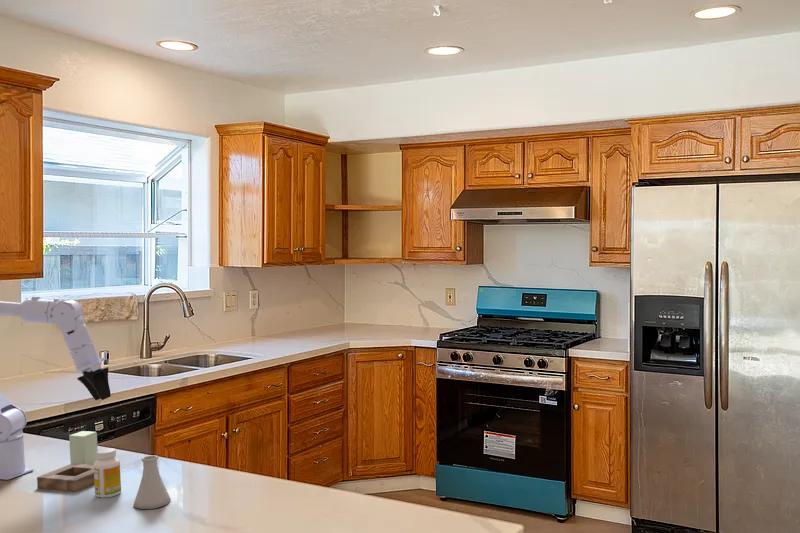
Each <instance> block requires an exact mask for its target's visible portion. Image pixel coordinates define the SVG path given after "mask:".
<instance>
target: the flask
mask: <svg viewBox="0 0 800 533" xmlns="http://www.w3.org/2000/svg"><path fill="white" fill-rule="evenodd" d="M158 460H159V455H154V454H153V455H146V456H143V457H142V458H141V462H142V463H143V470H142V475H141V480H140V483H139V487H138V489H137V492H136V496H135V499H134V502H133V505H132V507H134V508H137V509H140V510H147V509H148V510H149V509H153V510H154V509H157V508H160V507H164V506H166V505H168V504H169V502H170V501H171V500H172V499H171V497H170V494H169V492H168V491H167V490H168V489H167V488H166V486H165V484H164V481H163V479H162V477H161V473H160V471H159V467H158Z"/></svg>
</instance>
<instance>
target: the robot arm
mask: <svg viewBox="0 0 800 533" xmlns="http://www.w3.org/2000/svg"><path fill="white" fill-rule="evenodd" d="M83 313H84V309H83V306H82V305H81V303H80V302H78V301H76V300H74V299H73V300H72V299H70V298H68V299H66V300H63V301H61V300H60V298H58V297H57V298H56V297H55V298H53V299H46V298H45V299H44V298H40V296H38V295H37V296H36V295H33V296H32V297H30V298H26V299H25V300H24V301H23V302H14V301H2V300H0V316H2V317H3V316H7V317H8V316H9V317H10V316H11V317H20V318H21V319H22V320H23V321H24V322H25V323H39V324H55V325H56V326H58V327H59V329H60V331H61V334H62V337H63V339H64V343H65V344H66V346H67V349H68V352H69V353H70V357H71V359H72V362H73V363H74V365H75V370H76V372H77V373H78V372H81V374H82V375H81V376H79V377H77V378H76V379H77V381H79V382H80V383H81V384H82V385H83V386H85V388H86V389H87V390H88V392H89V394H90V396H92V398H93V399H94V401H99V400H102V401H104V400H107V399H108V398H110V397H111V396H112V395H111V389H110V388H111V387H110V383H109V367H108V366H107V367H104V368H102V365H101V363H102V362H103V361H106V360H107V359H106V357H101V358H100V355H99V353H98V350H97V348H96V346H95V343H94V341H93V339H92V336H91V333H90V331H89V328H88V326H87V325H86V322H85V320H84V318H83ZM27 423H28V416H27V414H26V411H25V410H24V409H22V408H20V407H18V406H17V405H16V404H15V403H14V402H13V400H11V399H9V398H8V397H5V396H4V395H3V394H2V392H1V391H0V480H6V481H7V480H12V479H14V478H17V477H19V476H20V477H21V476H22V475H24V474H28V473H30V472H33V471H34V470H35V468H32V467H26V460H25V458H26V457H25V456H26V455H25V441H24V440H25V438H24V431H23V429H24V428H25V427H26V425H27Z"/></svg>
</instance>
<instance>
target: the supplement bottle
mask: <svg viewBox="0 0 800 533" xmlns="http://www.w3.org/2000/svg"><path fill="white" fill-rule="evenodd" d="M116 450H117V449H116V448H112V447H110V448H108V447H107V448H102V449H98V451H97V452H96V455H97V456H96V457H97V459H98V460H97V461H96V462H95V463H94V483H95V484H94V496H95V497H97V498H99V497H100V499H101V498H103V499H105V498H113V497H115V496H118V495H120V494H121V492H122V481H121V479H122V478H121V463H120V459H118V458H116V456H117V451H116Z"/></svg>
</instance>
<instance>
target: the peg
mask: <svg viewBox="0 0 800 533" xmlns="http://www.w3.org/2000/svg"><path fill="white" fill-rule="evenodd" d="M68 437H69V456H70V458H69V460H70V464H72V463H76V464H88V465H94V463H95V462H96V461H97V460H98V459H97V457H96V456H97V455H96V452H97V451H98V450H99V449H98V432H97V431H91V430H90V431H89V430H88V431H86V430H81V431H78V432H75V433H72V434H69V435H68Z"/></svg>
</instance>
